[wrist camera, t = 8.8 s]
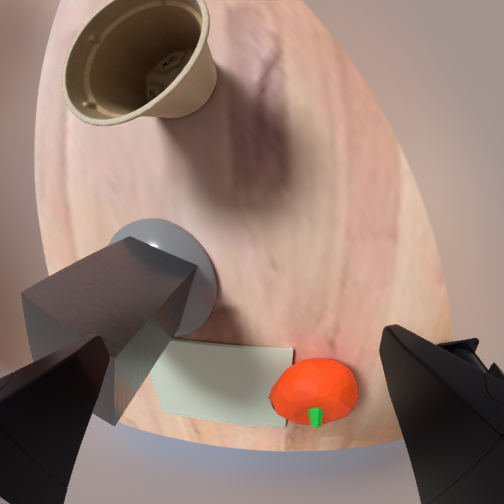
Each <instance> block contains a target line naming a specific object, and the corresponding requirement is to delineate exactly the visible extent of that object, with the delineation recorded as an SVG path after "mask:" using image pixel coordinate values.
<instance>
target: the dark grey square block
mask: <svg viewBox="0 0 504 504" xmlns="http://www.w3.org/2000/svg"><path fill="white" fill-rule="evenodd" d="M197 266H198V265H196V264H193V263H191V262H188V261H186V260H184V259H181V258H179V257H177V256H174V255H172V254H170V253H167V252H165V251H163V250H161V249H158V248H156V247H154V246H151V245H149V244H147V243H145V242H142V241H140V240H138V239H136V238H133V237H131V236H128V237H126V238H124V239H122V240H120V241H118V242H116V243H113V244H111V245H109V246H107V247H105V248H103V249H101V250H99V251H97V252H95V253H93V254H91V255H89V256H87V257H85V258H83V259H81V260H79V261H77V262H75V263H73V264H72V265H70V266H68V267H66V268H64V269H62V270H60V271H58V272H57V273H55V274H53V275H51V276H49V277H47V278H46V279H44V280H42V281H40V282H39V283H37V284H35V285H33V286H31V287H30V288H28V289H26V290H25V291H23V292H22V293H21V295H22V303H23V311H24V318H25V324H26V329H27V334H28V339H29V344H30V349H31V353H32V358H33V361H34V362H35V361H37V360H39V359H41V358H43V357H45V356H47V355H49V354H51V353H53V352H55V351H57V350H59V349H61V348H63V347H66V346H68V345H70V344H72V343H74V342H76V341H78V340H80V339H82V338H84V337H86V336H88V335H90V334H94V335H100V336H101V337H102V338H103V340H104V343H105V345H106V347H107V349H108V352H109V354H110V362H109V365H108V368H107V371H106V374H105V378H104V381H103V384H102V388H101V391H100V394H99V397H98V400H97V402H96V405H95V407H94V410H93V412H92V413H93V414H95V415H96V416H98V417H100V418H101V419H103V420H105V421H106V422H108V423H110V424H111V425H113V426H115V425H116V424H117V422H118V420H119V419H120V417H121V416H122V414H123V413H124V411H125V409H126V408H127V406H128V405H129V403H130V402H131V400H132V399H133V397H134V395H135V394H136V392H137V391H138V389H139V388H140V386H141V385H142V383H143V382H144V380H145V379H146V377H147V376H148V374H149V372H150V371H151V369H152V368H153V366H154V365H155V363H156V362H157V360H158V359H159V357H160V356H161V354H162V353H163V351H164V350H165V348H166V347H167V345H168V344H169V342H170V341H171V339H172V338H173V336H174V335H175V333H176V332H177V330H178V329H179V327H180V323H181V320H182V316H183V313H184V309H185V306H186V302H187V299H188V296H189V292H190V289H191V286H192V282H193V279H194V276H195V273H196V269H197Z"/></svg>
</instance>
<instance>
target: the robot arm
mask: <svg viewBox="0 0 504 504" xmlns="http://www.w3.org/2000/svg"><path fill="white" fill-rule="evenodd" d="M478 344H479V340H478V339H477V338H472V339H467V340H461V341H454V342H448V343H441V344H438V345H435V344H433V343H431V342H429V341H427V340H425V339H424V338H422V337H420V336H418V335H416V334H414V333H413V332H411V331H409V330H407V329H405V328H403V327H401V326H400V325H397V324H395V325H389V326H386V327H384V329H383V333H382V338H381V343H380V349H379V352H380V358H381V361H382V365H383V369H384V374H385V378H386V382H387V386H388V391H389V395H390V398H391V401H392V404H393V407H394V410H395V413H396V416H397V419H398V422H399V425H400V428H401V431H402V434H403V437H404V440H405V444H406V447H407V450H408V454H409V457H410V460H411V464H412V468H413V472H414V476H415V479H416V484H417V487H418V492H419V496H420V501H421V504H504V373H503V371H502V370H501V369H500V368H499V367H498V366H497V365H496V364H495V363H493V364H492V365H491V367H490V369H489V370H488V369H487V368H486V366H485V365H484V364H483V363H482V361H481V360H480V359H479V357H478V356H477V355H476V354H475V351H476V348H477V346H478ZM109 362H110V354H109V352H108V349H107V347H106V345H105V343H104V340H103V338H102V337H101V336H100V335H94V334H90V335H88V336H86V337H84V338H82V339H80V340H78V341H76V342H74V343H72V344H70V345H68V346H66V347H63V348H61V349H59V350H57V351H55V352H53V353H51V354H49V355H47V356H45V357H43V358H41V359H39V360H37V361H35V362H33V363H31V364H29V365H27V366H25V367H23V368H21V369H19V370H17V371H15V372H14V373H11V374H9V375H6V376H4V377H2V378H0V504H64V501H65V496H66V493H67V487H68V485H69V481H70V477H71V474H72V470H73V467H74V464H75V461H76V458H77V455H78V452H79V449H80V446H81V443H82V440H83V437H84V434H85V431H86V428H87V426H88V423H89V420H90V418H91V415H92V412H93V410H94V407H95V405H96V402H97V400H98V397H99V394H100V391H101V388H102V384H103V381H104V378H105V374H106V371H107V368H108V365H109Z"/></svg>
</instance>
